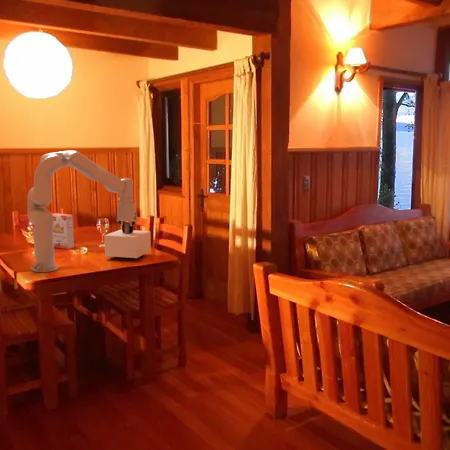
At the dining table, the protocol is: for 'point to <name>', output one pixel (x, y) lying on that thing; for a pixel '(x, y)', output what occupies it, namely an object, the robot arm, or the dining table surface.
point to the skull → (133, 258)
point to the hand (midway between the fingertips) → (127, 232)
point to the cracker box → (63, 231)
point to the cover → (127, 243)
